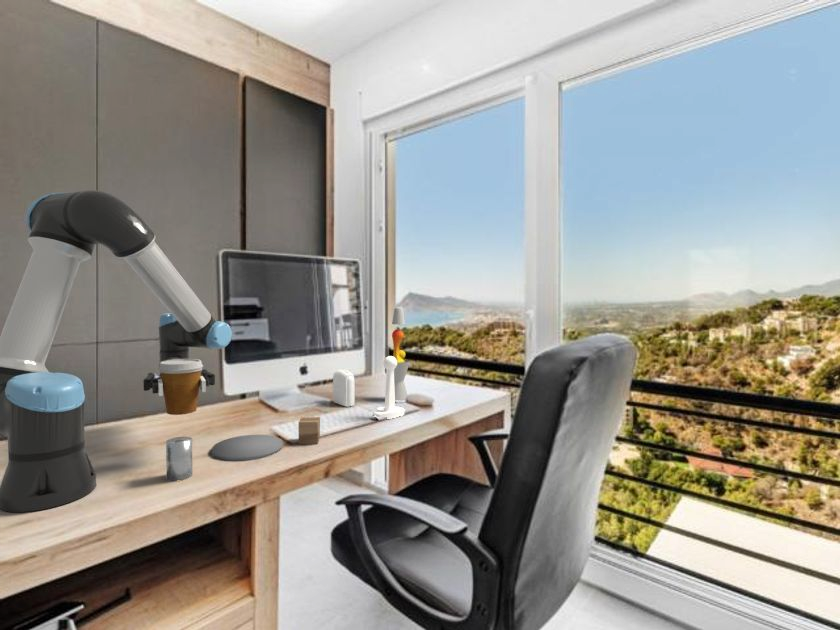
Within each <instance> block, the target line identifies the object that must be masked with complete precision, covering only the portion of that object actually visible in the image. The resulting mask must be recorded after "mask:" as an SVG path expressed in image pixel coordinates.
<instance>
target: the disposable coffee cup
mask: <svg viewBox="0 0 840 630" xmlns="http://www.w3.org/2000/svg"><path fill="white" fill-rule="evenodd" d="M203 367H204V364H203V362H202V360H201V359H197V358H189V359H175V360H167V361H162V362H160V366H159V365H158V367H157V370H158V371H159V375H160V374H161V379H162V383H163V398H164V404H165V409H166V414H167V415H171V416H182V415H183V416H184V415H188V414H193V413H194V412H196V411H197V407H198V400H199V393H200V391H199V390H200V387H199V384H200V376H201V371H202V370H203Z"/></svg>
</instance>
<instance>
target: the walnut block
mask: <svg viewBox="0 0 840 630" xmlns="http://www.w3.org/2000/svg"><path fill="white" fill-rule="evenodd" d="M319 439H321V417H320V416H301V417H300V419H299V421H298V444H299V443H300V444H299V445H319V442H320V440H319Z"/></svg>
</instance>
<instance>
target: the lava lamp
mask: <svg viewBox="0 0 840 630" xmlns="http://www.w3.org/2000/svg"><path fill="white" fill-rule="evenodd" d="M391 325H397V326H398V325H400V326H401V325H406V322H405V314H404V308H403V307H401V306H400V307H394V309H393V315H392V321H391ZM404 335H405V334H404V332H403V330H401V329H395V330H393V332H392V333H391V338H392V343H393V354H392V356H393V357H395V358H396V360H397V366H396V368H395V369H394V389H395V400H404V399H405V398H406V396H408V397H409V395H408V393H407V388H406V386H405V382H404V381H405V377H406V375H407V372H408V369H409V365H410V363H411V360H408V359H405V357H406V352H405V350H403V349H400V345H401V342H402V341H403V339H404Z"/></svg>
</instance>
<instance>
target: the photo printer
mask: <svg viewBox="0 0 840 630" xmlns="http://www.w3.org/2000/svg"><path fill="white" fill-rule="evenodd" d="M355 382H356V380H355V375H354V374H353V373H352V372H350V371H349V370H347V369H339V370H338V369H337V370H336V371H335V372H334V373H333V378H332V385H333V386H332V400H333V403H334V404H338V405H340V406H344V407H346V408H348V407H349V408H350V406H351V407H353V406H355V403H356V402H355V401H356V400H355V393H356V392H355V389H356V388H355Z"/></svg>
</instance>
